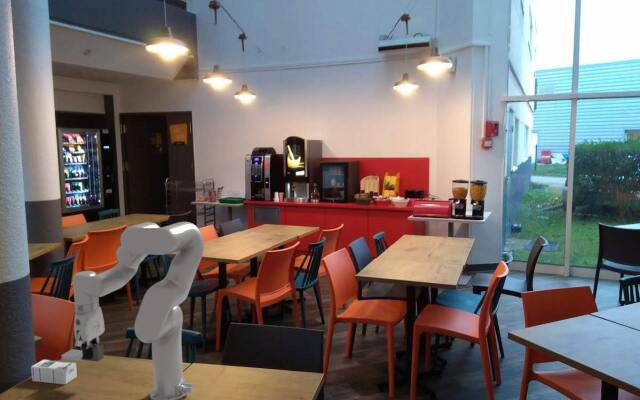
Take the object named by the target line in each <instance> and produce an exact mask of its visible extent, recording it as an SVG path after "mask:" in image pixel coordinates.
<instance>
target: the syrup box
mask: <svg viewBox="0 0 640 400" xmlns="http://www.w3.org/2000/svg"><path fill="white" fill-rule="evenodd" d="M30 373H31V381H32V382H37V383H48V384H57V385H68V384H69V383H70V382H72V381H73V380H75V379H76V378H77V376H78V375H77V374H78V372H77V363H76V362H72V361H63V360H53V359H52V360H51V359H42V360H40V361H39V362H36V363H35V364H33V365H31V366H30Z"/></svg>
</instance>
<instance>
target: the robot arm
mask: <svg viewBox="0 0 640 400" xmlns="http://www.w3.org/2000/svg"><path fill="white" fill-rule="evenodd" d="M119 239H120V245H119V247H118V249H117V250H116V253H115V255H116V258H117V260H118V262H117V263H116V264H115V266H113V267H112V268H110V269H108V270H106V271H103V272H100V273H98V274H97V273H96V272H95V271H93V270H84V271H83V270H82V271H80V272H76V273H75V274H73V277H72V283H73V285H72V286H73V298H74V312H75V314H74V321H73V322H74V324H73V328H74V329H73V331H74V333H73V334H74V339H75V342H74V346H75V347H79V348H80V350H82V353H83V359H89V360H90V359H92V355H91V348H90V343H94V344H100V338H101V336H102V334H104V333H105V321H104V315H103V310H102V307H101V306H100V301H99V300H100V299H99V298H101V297H104V296H106V295H108V294H111V293H113V292H115V291H117V290H120V289H121V288H123V287H124V286H125V285H126V284H128V283H129V281H130V280H132V279H133V277H134V276H135V275H136V273H137V272H138V269H139V265H140V264H141V263H142V262H143V261H144V259H145V258H146V257H147V256H148V255H154V256H155V255H156V256H157V255H158V256H159V255H160V256H161V255H169V254H172V253H175V252H176V254H175V256H174V257H173V258H172V260H171V263H170V265H169V268H168V271H167V273H166V276H165V277H164V278H163V279H162V280H160V281H158V282H156V283H155V284H153V285H151V286H150V287H149V288H148V289H147V291H146V292H145V294H144V295H143V298H142V301H141V303H140V305H139V308H138V309H139V310H138V312H137V315H136V317H135V320H134V321H135V322H134V334H135V336H136V339H138V340H139V341H140V342H142V343H146V344H151V351H152V352H151V357H152V372H153V373H152V375H153V388H152V389H151V390H150V392H149V398H150V400H181V399H182V398H184V397H185V396H186V395H187V394H188V393H189V394H192V393H193V392H194V383H191V382H190V383H188V382H187V378H186V377H184V369H183V367H184V366H183V351H182V350H183V349H182V332H183V331H182V329H183V323H184V322H183V320H184V316H183V314H184V313H183V310H182V308H181V307H180V304H182V303H183V302H184V301H185V300H186V299H188V295H189V294H190V293H189V292H190V291H191V288H192V284H193V283H194V279H195V276H196V273H197V271H198V268H199V265H200V263H201V260H202V257H203V256H204V255H203V254H204V248H205V239H204V237H203V234H202V232H201V230H200V228H199V227H198V226H197V225H195V224H194V223H192V222H189V221H180V222H176V223H172V224H170V225H166V226H165V225H164V226H162V227H161V226H159V224H157V223H155V222H152V221H145V222H142V223H138V224H134V225H132V226H128V227H127V228H125V229H124V230H123V232H122V233H121V235H120V238H119Z"/></svg>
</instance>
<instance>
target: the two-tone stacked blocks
mask: <svg viewBox="0 0 640 400" xmlns="http://www.w3.org/2000/svg"><path fill="white" fill-rule="evenodd" d="M90 348H91V355H92V359H90V360H89V359H83V353H82V349H75V348H73V349H69V350H67V351H66V352H65V353H63V354H61V359H63V360H71V361H79V362H82V361H90V362H97V363H98V362H100V361H101V360H102V359H104V344H101V343H98V344H94V343H91V342H90Z"/></svg>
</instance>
